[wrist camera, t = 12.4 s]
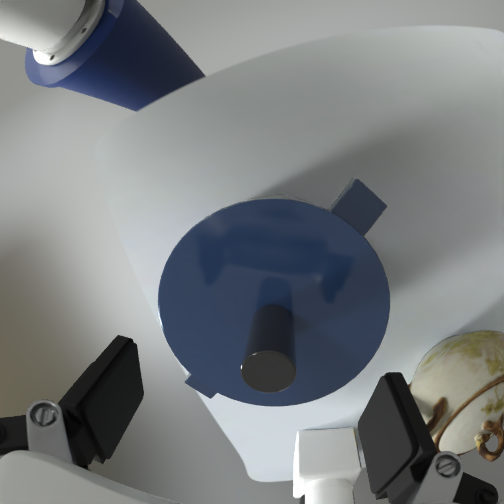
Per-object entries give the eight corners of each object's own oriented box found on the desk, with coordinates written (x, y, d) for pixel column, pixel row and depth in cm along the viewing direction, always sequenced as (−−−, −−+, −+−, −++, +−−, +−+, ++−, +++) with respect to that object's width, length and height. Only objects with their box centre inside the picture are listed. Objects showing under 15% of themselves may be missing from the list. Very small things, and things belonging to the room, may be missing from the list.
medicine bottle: (344, 455, 30) (352, 524, 19) (293, 458, 31) (291, 529, 20) (353, 425, 29) (368, 504, 17) (297, 429, 29) (296, 511, 18)
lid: (132, 320, 18) (89, 367, 13) (249, 145, 14) (230, 129, 9) (286, 419, 19) (284, 478, 14) (423, 292, 15) (468, 338, 10)
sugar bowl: (352, 414, 28) (372, 521, 14) (392, 303, 24) (468, 416, 10) (472, 400, 26) (513, 471, 12) (516, 307, 22) (587, 368, 8)
